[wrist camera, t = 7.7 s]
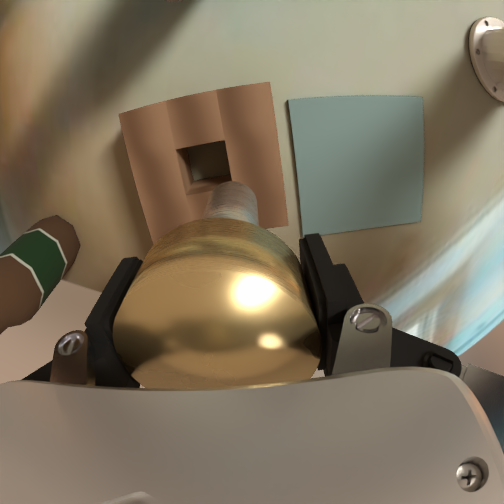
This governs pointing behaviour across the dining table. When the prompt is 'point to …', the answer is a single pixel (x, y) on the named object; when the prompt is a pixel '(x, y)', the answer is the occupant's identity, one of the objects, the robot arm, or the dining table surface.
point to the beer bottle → (34, 268)
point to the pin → (218, 304)
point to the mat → (358, 161)
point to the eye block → (200, 132)
